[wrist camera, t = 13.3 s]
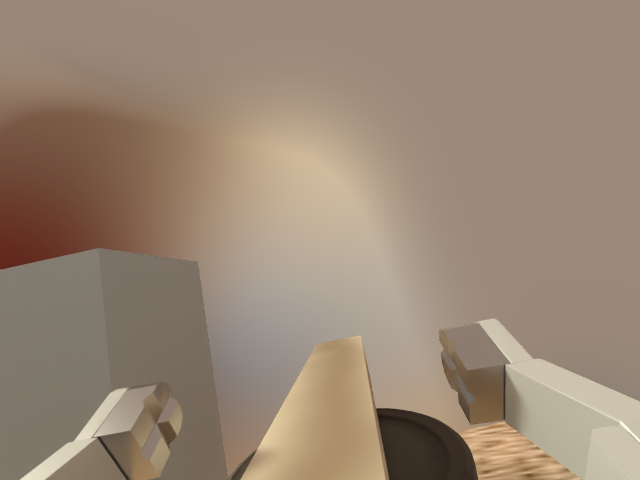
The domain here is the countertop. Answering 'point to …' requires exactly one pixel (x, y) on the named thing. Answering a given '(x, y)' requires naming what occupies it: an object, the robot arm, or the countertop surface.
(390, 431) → the coffee can
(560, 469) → the countertop surface
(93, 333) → the upright
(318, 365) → the rail
